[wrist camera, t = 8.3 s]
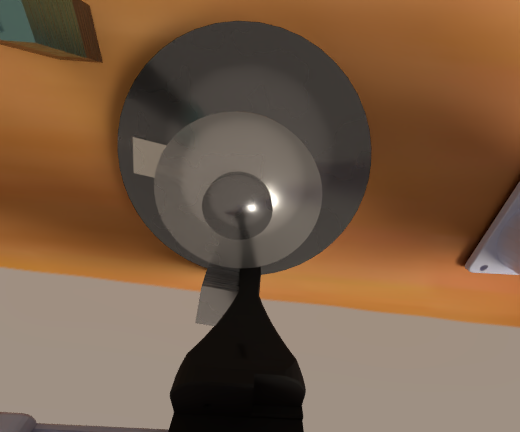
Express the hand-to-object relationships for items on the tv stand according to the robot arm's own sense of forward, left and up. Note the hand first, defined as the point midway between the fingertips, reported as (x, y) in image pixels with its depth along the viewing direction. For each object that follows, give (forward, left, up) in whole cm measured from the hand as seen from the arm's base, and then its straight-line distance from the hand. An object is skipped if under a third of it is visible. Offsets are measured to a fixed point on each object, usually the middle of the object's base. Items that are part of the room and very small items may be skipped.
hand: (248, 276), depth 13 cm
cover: (+1, -6, -1) cm, 6 cm away
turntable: (0, -6, -2) cm, 6 cm away
